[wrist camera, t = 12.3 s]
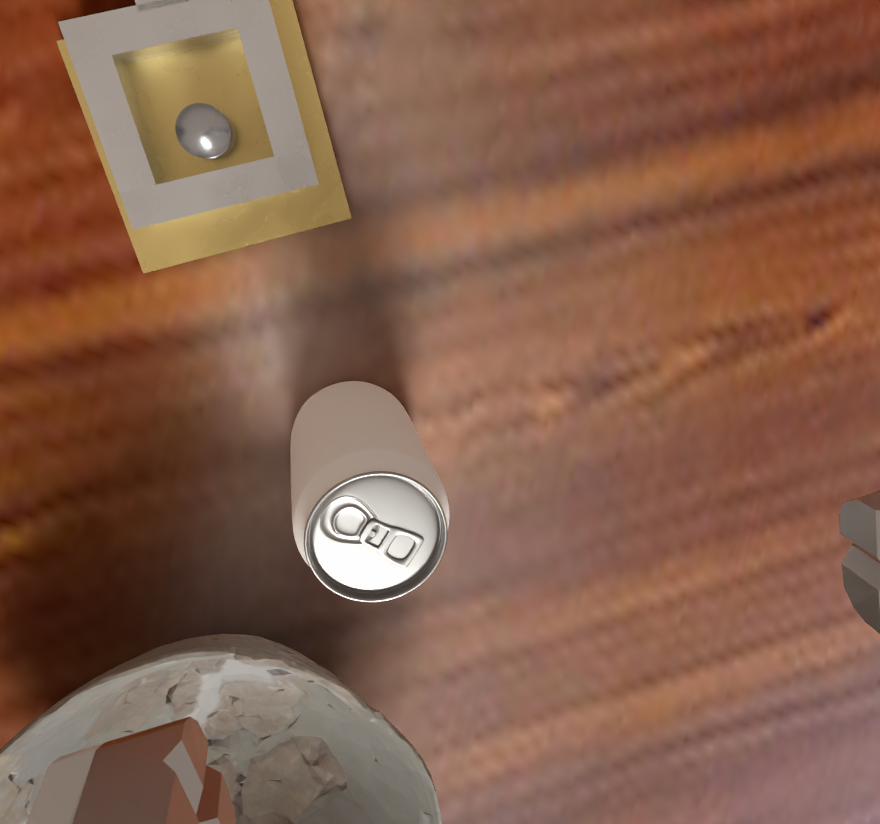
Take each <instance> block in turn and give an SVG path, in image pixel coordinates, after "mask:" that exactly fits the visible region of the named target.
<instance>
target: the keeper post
mask: <svg viewBox="0 0 880 824" xmlns="http://www.w3.org/2000/svg"><path fill="white" fill-rule="evenodd" d="M269 2H270V6H271V10H272V13H273V17H274V21H275V24H276V28H277V32H278V36H279V39H280V43H281V47H282V50H283V54H284V58H285V61H286V65H287V69H288V72H289V76H290V80H291V83H292V87H293V91H294V95H295V98H296V102H297V106H298V109H299V113H300V117H301V120H302V124H303V128H304V131H305V135H306V139H307V143H308V146H309V150H310V154H311V157H312V161H313V165H314V168H315V172H316V176H317V179H318V183H319V184H317V185H313V186H309V187H305V188H300V189H296V190H292V191H288V192H284V193H280V194H276V195H272V196H268V197H264V198H260V199H256V200H252V201H248V202H244V203H239V204H235V205H231V206H227V207H223V208H219V209H215V210H211V211H207V212H203V213H199V214H195V215H191V216H187V217H183V218H179V219H174V220H170V221H166V222H162V223H158V224H154V225H150V226H146V227H142V228H138V229H134V230H133V229H132V226H131V224H130V221H129V218H128V215H127V212H126V210H125V207H124V204H123V201H122V199H121V196H120V193H119V190H118V187H117V185H116V182H115V179H114V176H113V174H112V171H111V168H110V165H109V162H108V160H107V157H106V154H105V151H104V149H103V146H102V143H101V140H100V137H99V135H98V132H97V129H96V126H95V124H94V121H93V118H92V115H91V112H90V110H89V107H88V104H87V101H86V99H85V96H84V93H83V90H82V87H81V85H80V82H79V79H78V76H77V74H76V71H75V68H74V65H73V62H72V60H71V57H70V54H69V51H68V49H67V46H66V43H65V40H64V39H63V40H59V41H57V44H58V47H59V49H60V52H61V55H62V57H63V60H64V63H65V66H66V68H67V71H68V74H69V76H70V79H71V82H72V84H73V87H74V90H75V92H76V95H77V98H78V100H79V103H80V106H81V108H82V111H83V114H84V116H85V119H86V122H87V124H88V127H89V130H90V132H91V135H92V138H93V140H94V143H95V146H96V148H97V151H98V154H99V156H100V159H101V162H102V164H103V167H104V170H105V172H106V175H107V178H108V180H109V183H110V186H111V188H112V191H113V194H114V196H115V199H116V202H117V204H118V207H119V210H120V212H121V215H122V218H123V220H124V223H125V226H126V228H127V231H128V234H129V236H130V239H131V242H132V244H133V247H134V250H135V252H136V255H137V258H138V261H139V263H140V266H141V269H142V271H143V273H147V272H151V271H154V270H158V269H162V268H166V267H170V266H173V265H177V264H181V263H185V262H188V261H192V260H196V259H200V258H204V257H207V256H211V255H215V254H219V253H223V252H226V251H230V250H234V249H238V248H241V247H245V246H249V245H253V244H257V243H260V242H264V241H268V240H272V239H276V238H279V237H283V236H287V235H291V234H294V233H298V232H302V231H306V230H310V229H313V228H317V227H321V226H325V225H329V224H332V223H336V222H340V221H344V220H347V219H351V218H352V217H351V214H350V210H349V206H348V203H347V199H346V195H345V192H344V188H343V184H342V181H341V177H340V173H339V170H338V166H337V162H336V159H335V155H334V151H333V148H332V144H331V140H330V136H329V133H328V129H327V125H326V122H325V118H324V114H323V111H322V107H321V103H320V100H319V96H318V92H317V89H316V85H315V81H314V78H313V74H312V70H311V67H310V63H309V59H308V56H307V52H306V48H305V44H304V41H303V37H302V33H301V30H300V26H299V22H298V19H297V15H296V11H295V8H294V4H293V0H269ZM127 68H128V71H129V74H130V77H131V80H132V83H133V86H134V89H135V92H136V95H137V98H138V101H139V103H140V106H141V109H142V112H143V115H144V118H145V121H146V124H147V127H148V130H149V133H150V136H151V139H152V142H153V145H154V148H155V151H156V154H157V157H158V160H159V163H160V166H161V169H162V172H163V175H164V177H165V180H166V182H170V181H174V180H178V179H182V178H186V177H191V176H195V175H199V174H203V173H207V172H211V171H215V170H220V169H224V168H228V167H232V166H236V165H240V164H245V163H249V162H253V161H257V160H261V159H265V158H270V157H274V154H273V150H272V147H271V143H270V140H269V136H268V133H267V129H266V126H265V122H264V119H263V115H262V112H261V108H260V105H259V101H258V98H257V94H256V91H255V88H254V84H253V81H252V77H251V74H250V70H249V67H248V63H247V60H246V56H245V53H244V49H243V46H242V42H241V39H240V40H235V41H231V42H226V43H222V44H217V45H213V46H208V47H204V48H199V49H195V50H190V51H186V52H181V53H177V54H172V55H168V56H163V57H159V58H154V59H150V60H145V61H141V62H136V63H132V64H127Z"/></svg>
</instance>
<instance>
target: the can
mask: <svg viewBox="0 0 880 824" xmlns="http://www.w3.org/2000/svg"><path fill="white" fill-rule="evenodd" d="M291 505H292V525H293V533H294V537H295V541H296V544H297V547H298V550H299V552H300V554H301V556H302V557H303V559H304V561H305V562H306V563H307V565H308V566H309V567H310V569H311V570H312V572H313V574H314V575H315V576H316V578H317V579H318V580H319V581H320V582H321V583H322V584H323V585H324V586H325V587H326V588H328V589H329V590H330V591H332V592H334V593H335V594H337V595H339V596H342V597H344V598H347V599H350V600H354V601H360V602H382V601H387V600H392V599H395V598H398V597H401V596H403V595H405V594H407V593H409V592H411V591H413V590H414V589H416V588H417V587H419V586H420V585H421V584H422V583H424V582H425V581H426V580H427V579H428V578H429V577H430V576H431V574H432V573H433V572H434V571H435V569H436V568H437V566H438V565H439V563H440V561H441V559H442V557H443V554H444V551H445V548H446V544H447V535H448V526H449V505H448V500H447V496H446V492H445V490H444V487H443V485H442V482H441V480H440V478H439V476H438V474H437V471H436V469H435V467H434V465H433V463H432V461H431V459H430V457H429V455H428V453H427V451H426V449H425V447H424V445H423V443H422V441H421V439H420V437H419V435H418V433H417V431H416V429H415V427H414V425H413V423H412V421H411V419H410V417H409V415H408V414H407V412H406V410H405V409H404V407H403V406H402V404H401V403H400V402H399V401H398V400H397V399H396V398H395V397H394V396H393V395H392V394H391V393H389V392H388V391H387V390H385V389H383V388H381V387H379V386H377V385H374V384H371V383H367V382H361V381H346V382H340V383H336V384H333V385H330V386H328V387H325V388H323V389H322V390H320V391H318V392H317V393H315V394H314V395H312V396H311V397H310V398H309V399H308V400H307V401H306V402H305V403H304V404H303V406H302V407H301V409H300V411H299V412H298V414H297V417H296V419H295V422H294V425H293V428H292V433H291Z"/></svg>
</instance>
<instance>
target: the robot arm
mask: <svg viewBox="0 0 880 824" xmlns="http://www.w3.org/2000/svg"><path fill="white" fill-rule="evenodd" d="M839 528H840V534H841V535H842V536H843V537H844V538H845V539H847V540H848V541H849V542H850V543H851V544H852V545H851V547H850V549H849V551H848V553H847V555H846V556H845V558H844V560H843V562H842V571H843V580H844V587H845V590H846V592H847V594H848V596H849V598H850V600H851V603H852V605H853V607H854V608H855V610H856V611H857V612H858V613H859V615H860V616H861V617H862V618H863V620H864V621H865V622H866V623H867V624H869V625H870V626H871V627H872V628H873V629H875V630H876V631H877V632H878V633H880V490H879V491H876V492H873V493H870V494H867V495H865V496H862V497H859V498H856V499H853V500H850V501H847V502H844V503H843V505H842V508H841V511H840V514H839ZM207 752H208V741H207V739H206V737H205V735H204V733H203V731H202V729H201V727H200V725H199V723H198V721H197V720H195V719H193V718H192V717H186V718H183V719H180V720H177V721H173V722H170V723H167V724H163V725H160V726H157V727H154V728H150V729H147V730H144V731H141V732H137V733H134V734H131V735H127V736H124V737H121V738H118V739H114V740H111V741H108V742H105V743H103V744H102V745H95V746H92V747H89V748H86V749H83V750H80V751H77V752H74V753H71V754H68V755H65V756H62V757H59V758H58V759H57V760H55V761H54V762H53V763H52V764H50V766H49V768H48V770H47V772H46V775H45V777H44V780H43V782H42V785H41V787H40V790H39V792H38V795H37V797H36V800H35V802H34V805H33V807H32V810H31V812H30V815H29V818H28V820H27V823H26V824H236V819H235V810H234V807H233V803H232V800H231V796H230V792H229V789H228V787H227V785H226V782H225V780H224V777H223V775H222V773H220V772H218V771H217V770H215V769H213V768H211V767H209V766H207V765H206V760H207Z"/></svg>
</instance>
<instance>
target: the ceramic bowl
mask: <svg viewBox="0 0 880 824" xmlns="http://www.w3.org/2000/svg"><path fill="white" fill-rule="evenodd" d="M186 717H192V718H193V719H195V720H197V721H198V723H199V725H200V727H201V729H202V731H203V733H204V735H205V737H206V739H207V741H208V752H207V760H206V765H207V766H209V767H211V768H213V769H215V770H217V771H218V772H220V773H222V775H223V777H224V780H225V782H226V785H227V787H228V789H229V792H230V796H231V800H232V803H233V807H234V810H235V819H236V824H442V820H441V814H440V810H439V805H438V800H437V795H436V790H435V787H434V784H433V780H432V777H431V774H430V772H429V770H428V769H427V767H426V765H425V763H424V761H423V759H422V758H421V756H420V755H419V754H418V752H417V751H416V749H415V748H414V747H413V745H412V744H411V743H410V742H409V741H408V740H407V739H406V738H405V737H404V736H403V735H402V734H401V733H400V732H399V731H398V730H397V729H396V728H395V727H394V726H393V725H392V724H391V723H390V722H389V721H388V720H387V719H386V718H385V717H384V715H383V714H382V713H381V712H379V711H378V710H375V709H373V708H371V707H370V706H369V705H368V704H367V703H366V702H364V701H363V700H362V699H361V698H360V697H359V696H358V695H357V694H356V693H354V692H353V691H352V690H350V689H349V688H348V687H347V686H346V685H345V684H344V683H343V682H342V681H340V680H339V679H338V678H337V677H336V676H335V675H334V674H333V673H331V672H330V671H328V670H327V669H325V668H323V667H322V666H320V665H318V664H317V663H315V662H314V661H312V660H310V659H309V658H307V657H306V656H304V655H303V654H301V653H299V652H297V651H295V650H293V649H291V648H289V647H286V646H284V645H282V644H280V643H277V642H274V641H271V640H268V639H265V638H262V637H259V636H252V635H245V634H224V633H223V634H216V635H207V636H200V637H193V638H187V639H184V640H180V641H177V642H173V643H170V644H166V645H163V646H160V647H157V648H154V649H152V650H150V651H148V652H146V653H144V654H142V655H139V656H137V657H135V658H133V659H131V660H129V661H127V662H124V663H122V664H120V665H119V666H117V667H115V668H113V669H111V670H109V671H107V672H105V673H103V674H101V675H99V676H97V677H95V678H94V679H92V680H90V681H89V682H87V683H86V684H84V685H83V686H81V687H79V688H78V689H76V690H75V691H73V692H71V693H70V694H68V695H67V696H66V697H64V698H63V699H61V700H60V701H59V702H57V703H56V704H55V705H53V706H52V707H51V708H49V709H48V710H47V711H45V712H44V713H43V714H41V715H40V716H39V717H37V718H36V719H35V720H33V721H32V722H31V723H29V724H28V725H27V726H26V727H25V728H24V729H23V730H21V731H20V732H19V733H18V734H17V735H16V736H14V737H13V738H12V739H11V740H10V741H9V742H8V743H6V744H5V745H4V746H3V747H2V748H1V749H0V824H26V823H27V820H28V818H29V815H30V812H31V810H32V807H33V805H34V802H35V800H36V797H37V795H38V792H39V790H40V787H41V785H42V782H43V780H44V777H45V775H46V772H47V770H48V768H49V766H50V764H52V763H53V762H54V761H55V760H57V759H58V758H59V757H62V756H65V755H68V754H71V753H74V752H77V751H80V750H83V749H86V748H89V747H92V746H95V745H102V744H103V743H105V742H108V741H111V740H114V739H118V738H121V737H124V736H127V735H131V734H134V733H137V732H141V731H144V730H147V729H150V728H154V727H157V726H160V725H163V724H167V723H170V722H173V721H177V720H180V719H183V718H186Z"/></svg>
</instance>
